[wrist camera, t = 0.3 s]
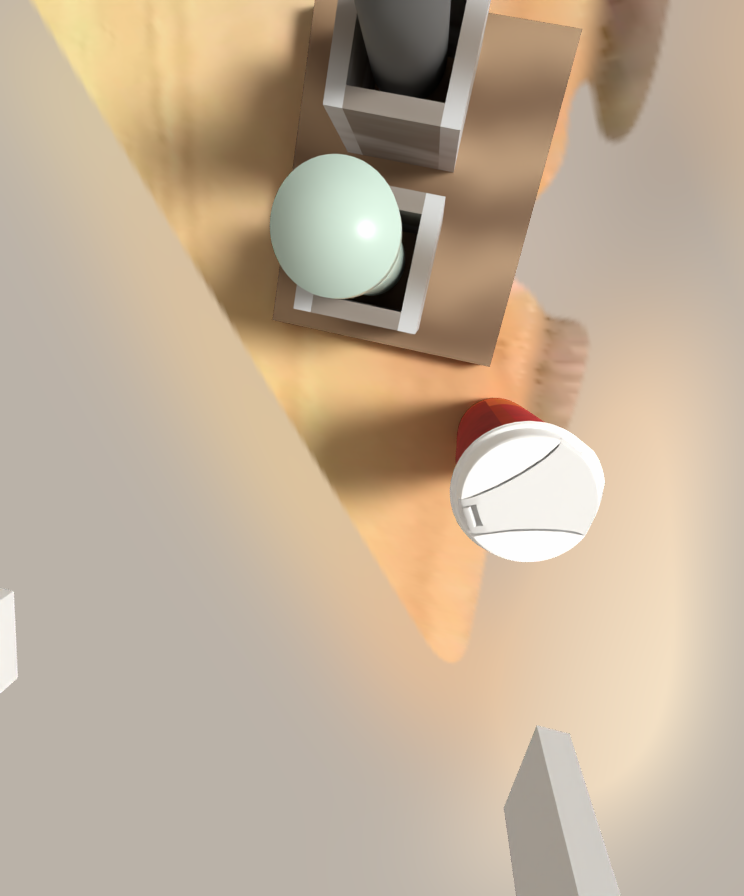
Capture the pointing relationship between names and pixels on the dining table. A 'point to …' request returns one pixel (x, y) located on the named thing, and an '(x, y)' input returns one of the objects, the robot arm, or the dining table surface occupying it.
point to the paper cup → (522, 483)
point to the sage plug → (338, 228)
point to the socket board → (437, 171)
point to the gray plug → (406, 43)
